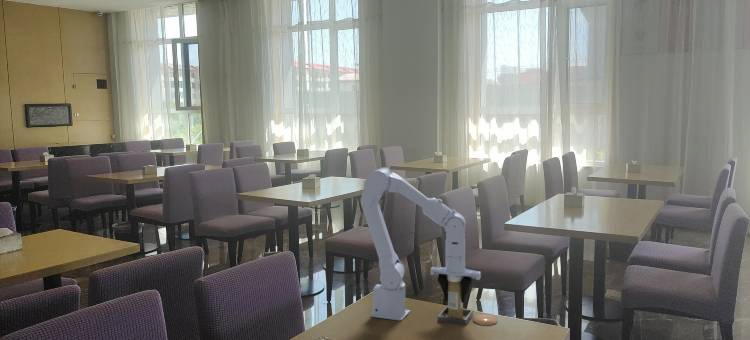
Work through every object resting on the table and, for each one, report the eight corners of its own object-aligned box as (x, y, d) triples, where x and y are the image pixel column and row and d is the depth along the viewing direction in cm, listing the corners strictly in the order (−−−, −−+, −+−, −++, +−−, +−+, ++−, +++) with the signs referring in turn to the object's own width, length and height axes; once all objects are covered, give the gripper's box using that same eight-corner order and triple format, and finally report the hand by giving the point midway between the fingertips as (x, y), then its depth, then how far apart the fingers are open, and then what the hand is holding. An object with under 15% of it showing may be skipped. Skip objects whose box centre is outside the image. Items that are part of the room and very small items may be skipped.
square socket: (437, 321, 167) (437, 316, 166) (445, 311, 174) (445, 306, 174) (466, 325, 163) (466, 320, 163) (473, 314, 171) (473, 310, 171)
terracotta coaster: (470, 323, 165) (470, 321, 165) (475, 314, 171) (475, 313, 171) (494, 326, 162) (494, 324, 162) (499, 318, 168) (499, 316, 168)
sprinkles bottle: (466, 318, 168) (466, 274, 167) (454, 322, 166) (454, 276, 164) (456, 314, 172) (456, 270, 170) (444, 317, 170) (444, 273, 168)
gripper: (427, 256, 166) (427, 302, 167) (476, 261, 160) (476, 308, 162) (434, 250, 172) (434, 294, 174) (482, 254, 167) (482, 300, 168)
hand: (455, 300), depth 168 cm, fingers closed on sprinkles bottle, 4 cm apart
